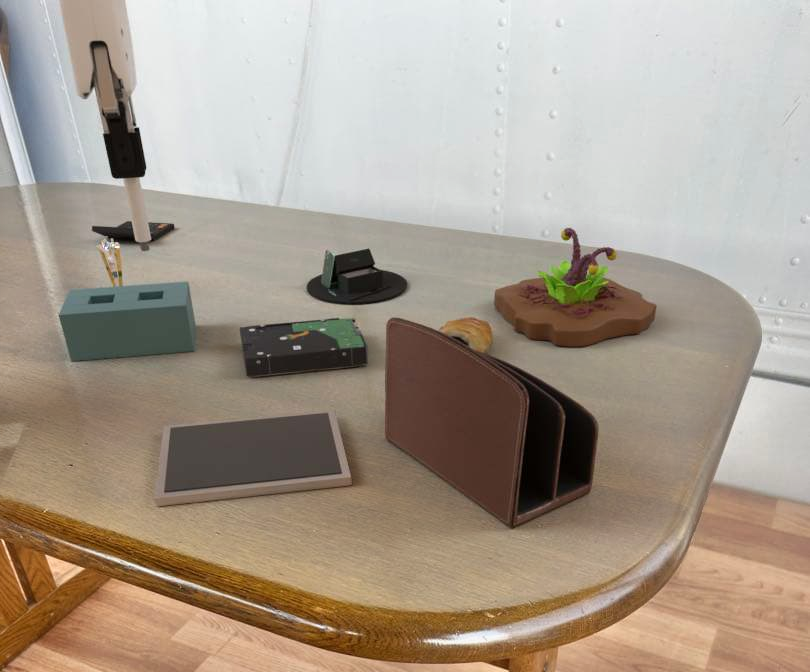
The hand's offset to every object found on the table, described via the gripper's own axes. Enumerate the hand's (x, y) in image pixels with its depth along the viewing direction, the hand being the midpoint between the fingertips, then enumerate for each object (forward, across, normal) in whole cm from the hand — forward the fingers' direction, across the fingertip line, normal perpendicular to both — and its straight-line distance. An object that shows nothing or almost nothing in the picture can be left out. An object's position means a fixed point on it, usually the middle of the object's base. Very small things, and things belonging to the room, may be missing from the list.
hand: (129, 173), depth 81 cm
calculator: (+23, -64, -8) cm, 69 cm away
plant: (+23, -10, +53) cm, 59 cm away
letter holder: (+23, +26, +30) cm, 46 cm away
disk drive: (+23, -5, +16) cm, 29 cm away
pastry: (+23, -2, +36) cm, 43 cm away
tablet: (+23, +19, +8) cm, 31 cm away
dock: (+23, -14, -5) cm, 28 cm away
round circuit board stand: (+23, -29, +26) cm, 45 cm away
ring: (+23, -34, -8) cm, 42 cm away
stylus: (+8, 0, 0) cm, 8 cm away
